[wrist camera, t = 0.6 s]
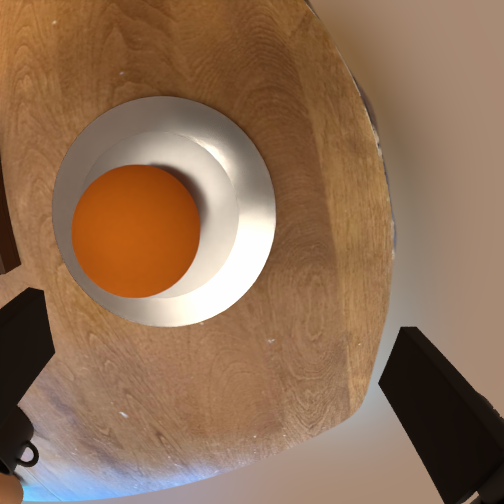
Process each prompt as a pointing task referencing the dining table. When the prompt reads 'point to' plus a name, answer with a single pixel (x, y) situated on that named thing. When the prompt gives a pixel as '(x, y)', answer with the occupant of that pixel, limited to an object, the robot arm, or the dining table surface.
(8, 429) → the mug
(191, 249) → the orange
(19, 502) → the egg
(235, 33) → the dining table surface
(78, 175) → the plate
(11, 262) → the tray
